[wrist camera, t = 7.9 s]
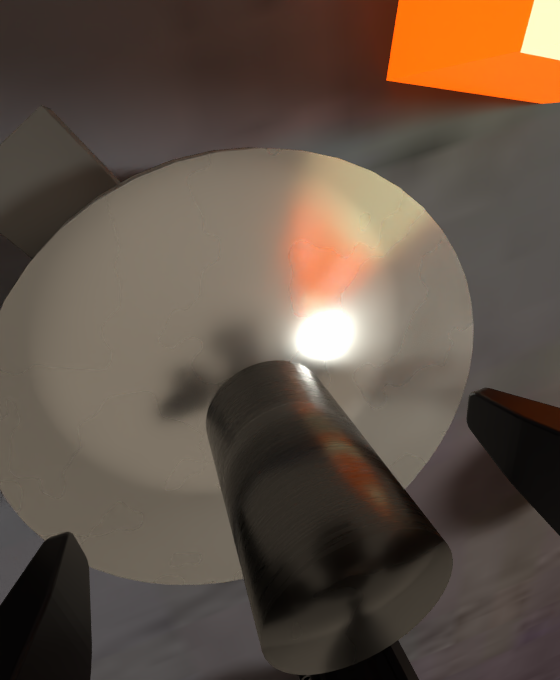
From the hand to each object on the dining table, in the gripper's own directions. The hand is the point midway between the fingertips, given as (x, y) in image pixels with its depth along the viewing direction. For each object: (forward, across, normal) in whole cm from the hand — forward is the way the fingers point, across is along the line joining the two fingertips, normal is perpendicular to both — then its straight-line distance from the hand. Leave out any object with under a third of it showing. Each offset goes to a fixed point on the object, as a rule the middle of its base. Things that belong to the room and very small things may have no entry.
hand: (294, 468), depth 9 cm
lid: (+3, 0, 0) cm, 3 cm away
